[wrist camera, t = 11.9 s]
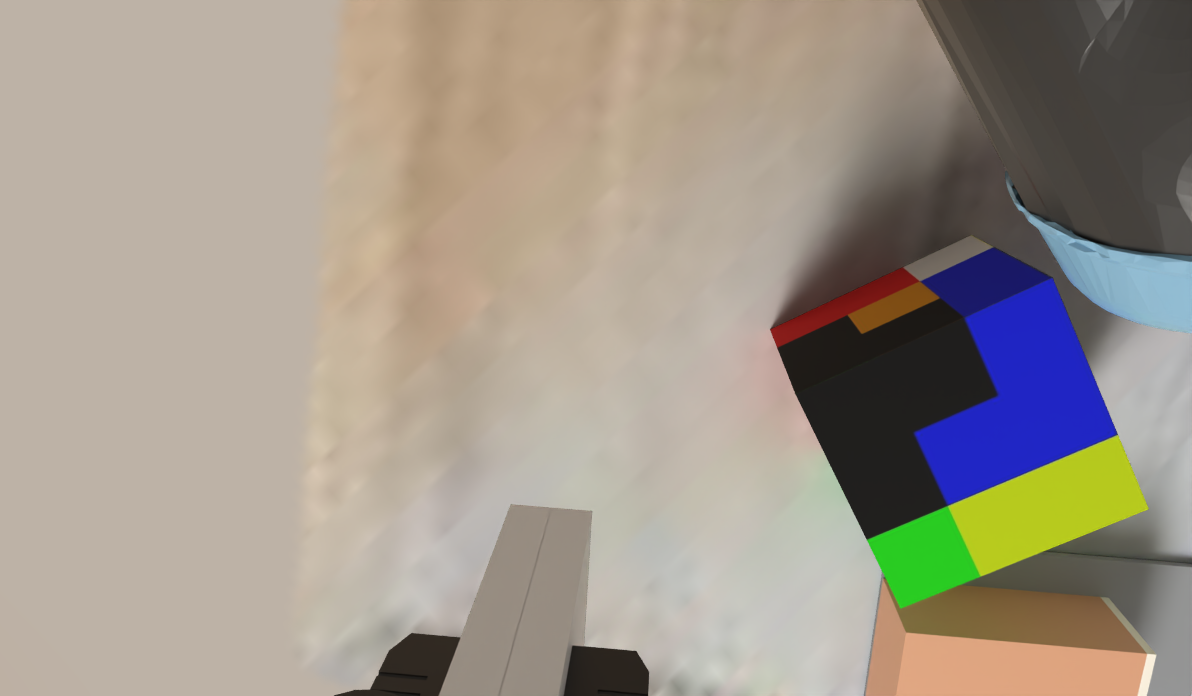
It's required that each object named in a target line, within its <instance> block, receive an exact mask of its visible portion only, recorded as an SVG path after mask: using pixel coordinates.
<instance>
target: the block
mask: <svg viewBox="0 0 1192 696" xmlns="http://www.w3.org/2000/svg"><path fill="white" fill-rule="evenodd" d="M1155 659H1156V653H1155V652H1154V651H1153V650H1152V649H1151V648H1150V646H1149V645H1148V644H1147V643H1146V642H1145V640H1144V639H1143V638H1142V637H1141V636H1140V635H1139V633H1138V632H1137V631H1136V630H1135V629H1134V627H1133V626H1132V625H1131V624H1130V623H1129V621H1128V620H1127V619H1126V618H1125V617H1124V616H1123V614H1122V613H1121V612H1120V611H1119V610H1118V608H1117V607H1116V606H1115V605H1114V604H1113V603H1112V601H1111V600H1110V599H1109V598H1107V597H1095V596H1083V595H1071V594H1060V593H1048V592H1036V591H1024V590H1013V589H1001V588H989V587H977V586H966V585H959V586H956V587H954V588H951V589H949V590H946V591H944V592H941V593H939V594H936V595H934V596H931V597H929V598H926V599H924V600H921V601H919V602H916V603H914V604H911V605H909V606H906V607H904V608H901V609H900V606H899V604H898V602H897V600H896V598H895V596H894V594H893V592H892V590H891V588H890V586H889V584H888V582H887V580H886V579H883V582H882V588H881V595H880V602H879V609H878V615H877V622H876V629H875V636H874V642H873V649H872V656H871V662H870V669H869V676H868V683H867V689H866V696H1147V693H1148V689H1149V684H1150V680H1151V676H1152V672H1153V668H1154V663H1155Z"/></svg>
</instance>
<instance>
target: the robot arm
mask: <svg viewBox="0 0 1192 696" xmlns="http://www.w3.org/2000/svg"><path fill="white" fill-rule="evenodd" d="M917 2H918V4H919V6H920V8H921V10H922V12H923V14H924V16H925V17H926V19H927V21H928V23H929V25H930V27H931V29H932V31H933V33H934V34H935V36H936V38H937V40H938V42H939V44H940V46H941V48H942V50H943V51H944V53H945V55H946V57H947V59H948V61H949V63H950V65H951V67H952V69H953V70H954V72H955V74H956V76H957V78H958V80H959V82H960V84H961V86H962V87H963V89H964V91H965V93H966V95H967V97H968V99H969V101H970V103H971V104H972V106H973V108H974V110H975V112H976V114H977V116H978V118H979V120H980V121H981V123H982V125H983V127H984V129H985V131H986V133H987V135H988V137H989V139H990V140H991V142H992V144H993V146H994V148H995V150H996V152H997V154H998V156H999V157H1000V159H1001V161H1002V163H1003V165H1004V167H1005V169H1006V172H1005V180H1006V184H1007V188H1008V191H1009V193H1010V196H1011V198H1012V200H1013V202H1014V204H1015V205H1016V207H1017V208H1018V210H1020V211H1022V212H1023V213H1024V215H1025V216H1026V218H1027V220H1028V221H1029V222H1030V223H1031V224H1033V225H1034V226H1035V227H1037V228H1038V230H1039V231H1040V233H1041V235H1042V236H1043V238H1044V240H1045V241H1046V243H1047V245H1048V246H1049V248H1050V250H1051V252H1052V253H1053V255H1054V257H1055V258H1056V260H1057V262H1058V263H1059V265H1060V267H1061V268H1062V270H1063V272H1064V273H1065V275H1066V276H1067V278H1068V279H1069V280H1070V282H1071V283H1072V284H1073V285H1074V286H1075V287H1077V288H1078V289H1079V290H1080V291H1081V292H1082V293H1083V294H1084V295H1085V296H1086V297H1088V298H1089V299H1090V300H1091V301H1092V302H1093V303H1095V304H1097V305H1098V306H1100V307H1102V308H1103V309H1105V310H1106V311H1108V312H1111V313H1113V314H1115V315H1118V316H1120V317H1123V318H1125V319H1128V320H1130V321H1133V322H1136V323H1139V324H1143V325H1146V326H1150V327H1155V328H1159V329H1165V330H1171V331H1178V332H1185V333H1192V0H917ZM591 521H592V511H585V510H572V509H560V508H548V507H536V506H524V505H512V504H511V505H510V508H509V511H508V513H507V516H506V519H505V521H504V524H503V526H502V529H501V532H500V534H499V537H498V540H497V542H496V545H495V548H494V550H493V553H492V556H491V558H490V561H489V564H488V566H487V569H486V572H485V574H484V577H483V580H482V582H481V585H480V588H479V590H478V593H477V596H476V598H475V601H474V604H473V606H472V609H471V611H470V614H469V617H468V619H467V622H466V625H465V627H464V630H463V633H462V635H461V638H459V637H448V636H437V635H426V634H415V633H411V634H410V635H408V636H407V637H406V638H405V639H403V640H402V641H401V642H400V643H398V644H397V645H396V646H394V647H393V648H392V649H391V650H389V652H388V654H387V656H386V658H385V660H384V662H383V664H382V666H381V668H380V670H379V675H378V676H376V679H375V681H374V683H373V685H372V687H371V689H370V690H353V691H350V692H346V693H342V694H338V695H335V696H648V685H649V671H648V669H647V668H646V666H645V665H644V663H643V661H642V660H641V658H640V656H639V655H638V653H637V651H629V650H618V649H607V648H596V647H585V646H584V639H585V622H586V605H587V589H588V572H589V555H590V538H591Z"/></svg>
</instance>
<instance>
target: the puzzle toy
mask: <svg viewBox="0 0 1192 696" xmlns="http://www.w3.org/2000/svg"><path fill="white" fill-rule="evenodd" d="M770 331H771V333H772V336H773V338H774V341H775V343H776V346H777V348H778V351H779V353H780V356H781V358H782V361H783V364H784V366H785V369H786V371H787V374H788V376H789V379H790V381H791V384H792V386H793V389H794V391H795V394H796V396H797V398H798V400H799V402H800V404H801V406H802V408H803V410H804V412H805V414H806V417H807V419H808V421H809V423H810V425H811V427H812V429H813V431H814V433H815V435H816V437H817V439H818V441H819V443H820V445H821V447H822V449H823V451H824V453H825V455H826V457H827V459H828V461H829V464H830V466H831V468H832V470H833V472H834V474H835V476H836V478H837V480H838V482H839V484H840V486H841V488H842V490H843V492H844V494H845V496H846V498H847V500H848V502H849V504H850V506H851V508H852V510H853V513H854V515H855V517H856V519H857V521H858V523H859V525H860V527H861V529H862V531H863V533H864V535H865V537H866V539H867V541H868V543H869V545H870V547H871V549H872V551H873V553H874V555H875V557H876V560H877V562H878V564H879V566H880V568H881V570H882V572H883V574H884V576H885V578H886V580H887V582H888V584H889V586H890V588H891V590H892V592H893V594H894V596H895V598H896V600H897V602H898V604H899V606H900V609H901V608H904V607H906V606H909V605H911V604H914V603H916V602H919V601H921V600H924V599H926V598H929V597H931V596H934V595H936V594H939V593H941V592H944V591H946V590H949V589H951V588H954V587H956V586H959V585H961V584H964V583H966V582H969V581H971V580H974V579H976V578H979V577H981V576H984V575H986V574H989V573H991V572H993V571H996V570H998V569H1001V568H1003V567H1006V566H1008V565H1011V564H1013V563H1016V562H1018V561H1021V560H1023V559H1026V558H1028V557H1031V556H1033V555H1036V554H1038V553H1041V552H1043V551H1046V550H1048V549H1051V548H1053V547H1056V546H1058V545H1061V544H1063V543H1066V542H1068V541H1071V540H1073V539H1076V538H1078V537H1081V536H1083V535H1086V534H1088V533H1091V532H1093V531H1096V530H1098V529H1101V528H1103V527H1106V526H1108V525H1111V524H1113V523H1116V522H1118V521H1121V520H1123V519H1126V518H1128V517H1131V516H1133V515H1136V514H1138V513H1141V512H1143V511H1146V510H1148V509H1149V508H1148V506H1147V503H1146V501H1145V499H1144V496H1143V494H1142V491H1141V489H1140V487H1139V484H1138V482H1137V479H1136V477H1135V475H1134V472H1133V470H1132V467H1131V465H1130V463H1129V460H1128V458H1127V455H1126V453H1125V451H1124V448H1123V446H1122V443H1121V441H1120V439H1119V436H1118V434H1117V431H1116V429H1115V427H1114V424H1113V422H1112V419H1111V417H1110V415H1109V412H1108V410H1107V407H1106V405H1105V403H1104V400H1103V398H1102V395H1101V393H1100V391H1099V388H1098V386H1097V383H1096V381H1095V378H1094V376H1093V374H1092V371H1091V369H1090V366H1089V364H1088V362H1087V359H1086V357H1085V354H1084V352H1083V350H1082V347H1081V345H1080V342H1079V340H1078V338H1077V335H1076V333H1075V330H1074V328H1073V326H1072V323H1071V321H1070V318H1069V316H1068V314H1067V311H1066V309H1065V306H1064V304H1063V302H1062V299H1061V297H1060V294H1059V292H1058V290H1057V287H1056V285H1055V282H1054V280H1053V278H1052V277H1051V276H1049V275H1047V274H1045V273H1043V272H1041V271H1039V270H1037V269H1035V268H1033V267H1031V266H1029V265H1028V264H1026V263H1024V262H1022V261H1020V260H1018V259H1016V258H1014V257H1012V256H1010V255H1008V254H1006V253H1005V252H1003V251H1001V250H999V249H997V248H995V247H993V246H991V245H989V244H987V243H985V242H983V241H982V240H980V239H978V238H976V237H974V236H972V235H970V236H968V237H966V238H964V239H962V240H960V241H958V242H955V243H953V244H951V245H949V246H947V247H945V248H943V249H941V250H938V251H936V252H934V253H932V254H930V255H928V256H926V257H924V258H921V259H919V260H917V261H915V262H913V263H911V264H909V265H906V266H904V267H902V268H900V269H898V270H896V271H894V272H892V273H889V274H887V275H885V276H883V277H881V278H879V279H877V280H875V281H872V282H870V283H868V284H866V285H864V286H862V287H860V288H857V289H855V290H853V291H851V292H849V293H847V294H845V295H843V296H840V297H838V298H836V299H834V300H832V301H830V302H828V303H826V304H823V305H821V306H819V307H817V308H815V309H813V310H811V311H809V312H806V313H804V314H802V315H800V316H798V317H796V318H794V319H791V320H789V321H787V322H785V323H783V324H781V325H779V326H777V327H774V328H772V329H770Z"/></svg>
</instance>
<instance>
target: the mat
mask: <svg viewBox="0 0 1192 696" xmlns="http://www.w3.org/2000/svg"><path fill="white" fill-rule="evenodd" d="M883 579H886V578H885V576H884V574H883V572H882V577H881V584H880V590H879V597H878V604H877V611H876V617H875V624H874V631H873V638H872V644H871V651H870V658H869V665H868V671H867V678H866V685H865V692H864V696H866V689H867V683H868V676H869V669H870V662H871V656H872V649H873V642H874V636H875V629H876V622H877V615H878V609H879V602H880V595H881V588H882V582H883ZM961 585H966V586H977V587H989V588H1001V589H1013V590H1024V591H1036V592H1048V593H1060V594H1071V595H1083V596H1095V597H1107V598H1109V599H1110V600H1111V601H1112V603H1113V604H1114V605H1115V606H1116V607H1117V608H1118V610H1119V611H1120V612H1121V613H1122V614H1123V616H1124V617H1125V618H1126V619H1127V620H1128V621H1129V623H1130V624H1131V625H1132V626H1133V627H1134V629H1135V630H1136V631H1137V632H1138V633H1139V635H1140V636H1141V637H1142V638H1143V639H1144V640H1145V642H1146V643H1147V644H1148V645H1149V646H1150V648H1151V649H1152V650H1153V651H1154V652H1155V653H1156V659H1155V663H1154V668H1153V672H1152V676H1151V680H1150V684H1149V689H1148V693H1147V696H1191V694H1192V564H1189V563H1177V562H1165V561H1153V560H1141V559H1128V558H1116V557H1104V556H1092V555H1080V554H1068V553H1056V552H1044V551H1043V552H1041V553H1038V554H1036V555H1033V556H1031V557H1028V558H1026V559H1023V560H1021V561H1018V562H1016V563H1013V564H1011V565H1008V566H1006V567H1003V568H1001V569H998V570H996V571H993V572H991V573H989V574H986V575H984V576H981V577H979V578H976V579H974V580H971V581H969V582H966V583H964V584H961Z"/></svg>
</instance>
